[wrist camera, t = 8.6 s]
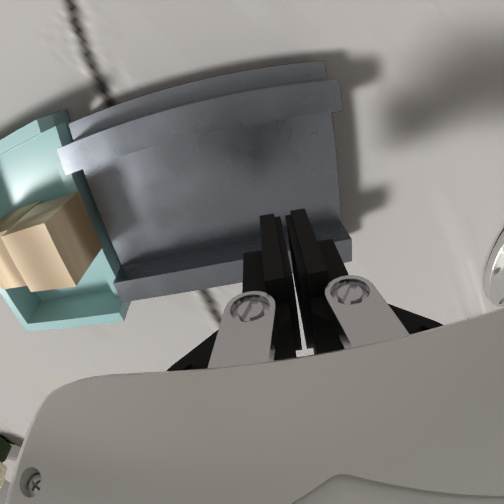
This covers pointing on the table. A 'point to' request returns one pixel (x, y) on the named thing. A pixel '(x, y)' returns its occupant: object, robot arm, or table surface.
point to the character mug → (3, 458)
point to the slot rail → (210, 173)
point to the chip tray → (45, 189)
